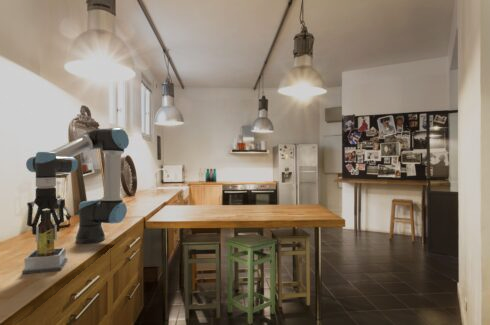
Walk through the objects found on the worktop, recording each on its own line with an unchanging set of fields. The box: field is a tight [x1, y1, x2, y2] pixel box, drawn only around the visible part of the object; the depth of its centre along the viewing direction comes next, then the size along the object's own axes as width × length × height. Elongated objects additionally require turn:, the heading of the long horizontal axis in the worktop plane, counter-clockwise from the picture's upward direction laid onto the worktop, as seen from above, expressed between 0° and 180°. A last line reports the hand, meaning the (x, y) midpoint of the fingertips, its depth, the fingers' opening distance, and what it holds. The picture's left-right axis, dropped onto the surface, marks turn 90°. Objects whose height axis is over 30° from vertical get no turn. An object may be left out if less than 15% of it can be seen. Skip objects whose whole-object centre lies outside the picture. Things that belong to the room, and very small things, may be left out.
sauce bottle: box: [36, 209, 55, 257], centre depth 138 cm, size 7×6×20 cm
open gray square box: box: [21, 247, 69, 275], centre depth 138 cm, size 14×14×6 cm
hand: (46, 240), depth 138 cm, fingers closed on sauce bottle, 6 cm apart
